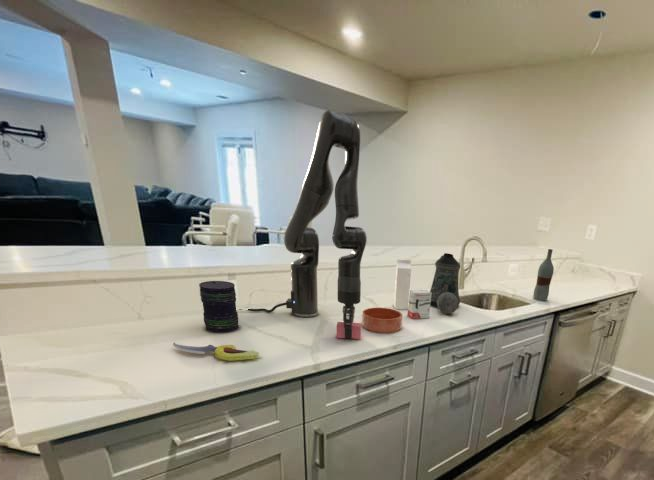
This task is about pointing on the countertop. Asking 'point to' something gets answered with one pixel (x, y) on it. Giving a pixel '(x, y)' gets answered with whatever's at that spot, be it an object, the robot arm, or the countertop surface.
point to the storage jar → (219, 306)
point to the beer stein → (445, 278)
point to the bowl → (382, 320)
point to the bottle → (544, 278)
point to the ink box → (419, 303)
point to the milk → (402, 284)
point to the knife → (220, 351)
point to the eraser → (355, 330)
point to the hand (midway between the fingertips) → (348, 335)
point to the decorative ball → (447, 303)
